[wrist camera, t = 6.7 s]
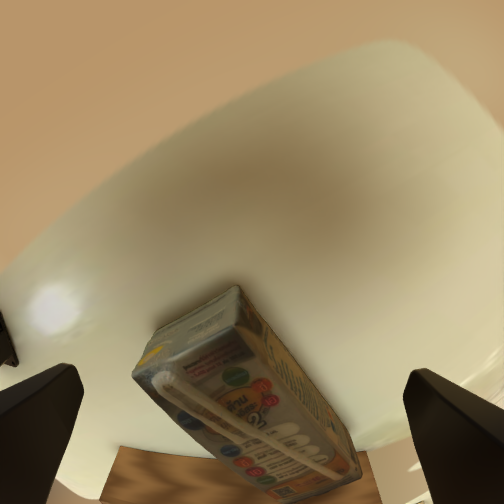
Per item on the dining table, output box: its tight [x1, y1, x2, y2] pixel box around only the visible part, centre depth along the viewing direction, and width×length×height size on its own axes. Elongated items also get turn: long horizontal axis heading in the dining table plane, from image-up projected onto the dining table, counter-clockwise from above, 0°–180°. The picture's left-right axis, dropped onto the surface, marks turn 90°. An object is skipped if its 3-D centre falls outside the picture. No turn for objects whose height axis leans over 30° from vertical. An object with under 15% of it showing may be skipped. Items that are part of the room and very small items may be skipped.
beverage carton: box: [132, 285, 363, 504], centre depth 20 cm, size 8×19×7 cm, turn 32°
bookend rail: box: [99, 446, 382, 504], centre depth 22 cm, size 26×2×8 cm, turn 90°
